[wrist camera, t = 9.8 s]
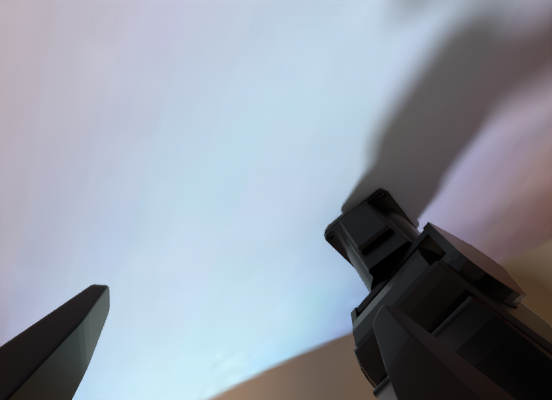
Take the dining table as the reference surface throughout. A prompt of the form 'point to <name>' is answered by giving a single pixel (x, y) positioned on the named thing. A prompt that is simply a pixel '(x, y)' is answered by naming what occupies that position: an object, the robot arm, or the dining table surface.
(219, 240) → the dining table surface
